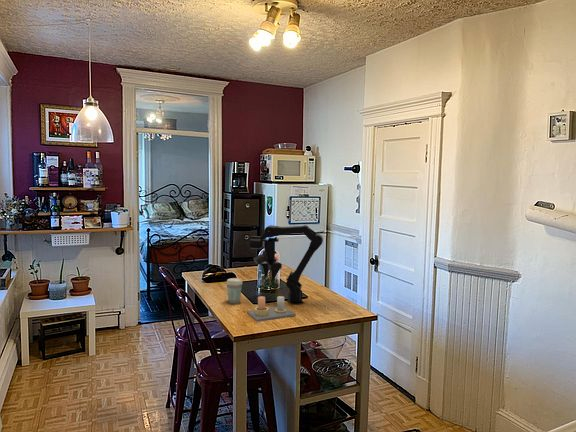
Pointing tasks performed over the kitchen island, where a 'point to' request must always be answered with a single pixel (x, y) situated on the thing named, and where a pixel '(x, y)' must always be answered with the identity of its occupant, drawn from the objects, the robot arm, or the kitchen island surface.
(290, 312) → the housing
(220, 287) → the kitchen island surface
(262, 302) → the brown peg
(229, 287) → the coffee cup
